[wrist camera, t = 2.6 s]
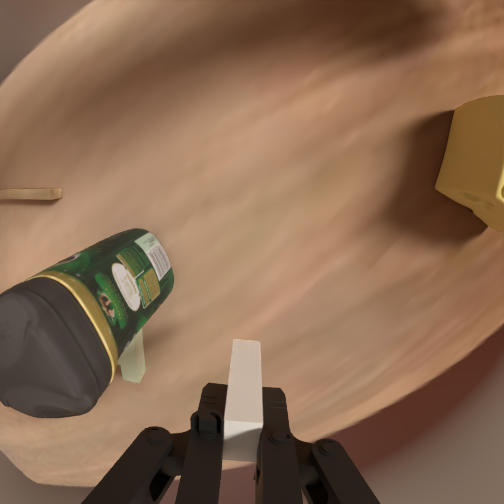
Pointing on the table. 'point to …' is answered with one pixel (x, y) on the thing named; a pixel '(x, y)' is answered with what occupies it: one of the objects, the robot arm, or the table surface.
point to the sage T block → (133, 360)
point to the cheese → (476, 160)
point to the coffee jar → (78, 323)
